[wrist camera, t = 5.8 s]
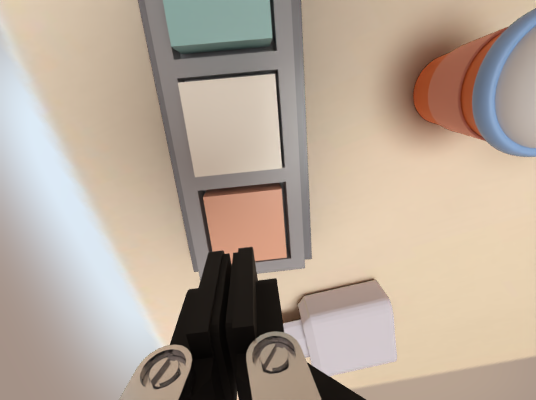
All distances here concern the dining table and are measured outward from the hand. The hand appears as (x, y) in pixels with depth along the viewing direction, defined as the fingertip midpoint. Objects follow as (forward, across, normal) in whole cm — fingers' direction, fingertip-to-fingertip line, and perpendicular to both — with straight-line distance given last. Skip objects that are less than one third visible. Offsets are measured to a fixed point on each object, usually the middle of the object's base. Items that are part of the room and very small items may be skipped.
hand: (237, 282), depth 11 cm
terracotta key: (+16, 0, +4) cm, 16 cm away
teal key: (+14, 0, -13) cm, 19 cm away
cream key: (+14, 0, -5) cm, 15 cm away
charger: (+19, -7, +20) cm, 29 cm away
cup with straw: (+19, -20, -5) cm, 28 cm away
